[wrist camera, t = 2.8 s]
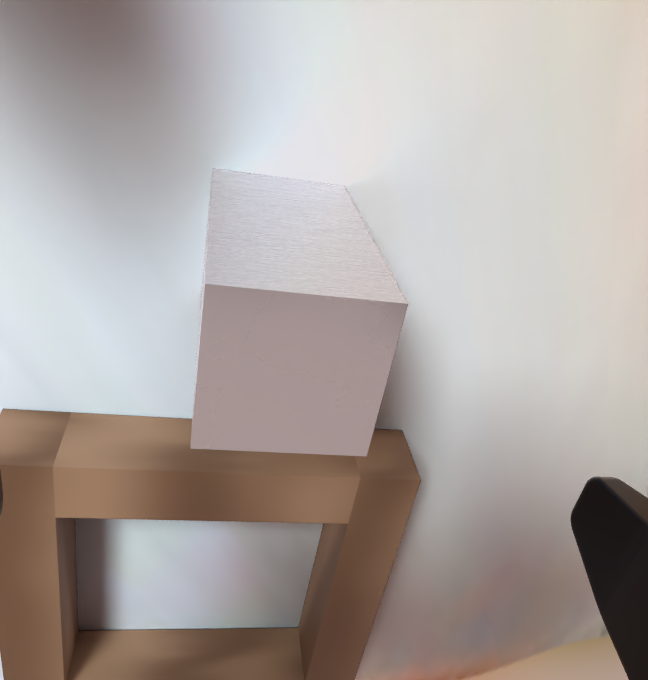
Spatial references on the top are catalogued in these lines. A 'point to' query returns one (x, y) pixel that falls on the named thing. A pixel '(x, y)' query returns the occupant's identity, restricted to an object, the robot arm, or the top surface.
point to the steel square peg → (291, 320)
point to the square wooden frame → (188, 504)
